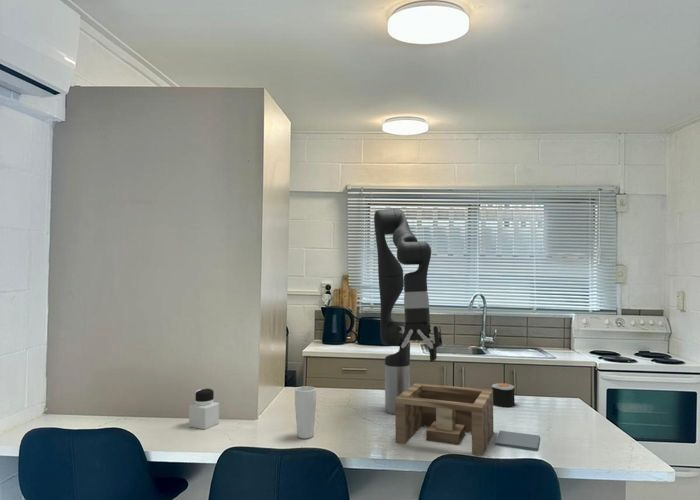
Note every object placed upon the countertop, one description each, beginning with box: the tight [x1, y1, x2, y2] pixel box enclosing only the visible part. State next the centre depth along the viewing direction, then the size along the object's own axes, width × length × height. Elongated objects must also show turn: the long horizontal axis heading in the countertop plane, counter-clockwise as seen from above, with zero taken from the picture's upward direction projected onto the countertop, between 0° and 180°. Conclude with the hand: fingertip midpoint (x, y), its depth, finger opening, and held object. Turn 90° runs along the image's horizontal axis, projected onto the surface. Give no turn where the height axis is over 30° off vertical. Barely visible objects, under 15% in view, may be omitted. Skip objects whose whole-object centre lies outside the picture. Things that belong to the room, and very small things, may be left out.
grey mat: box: [494, 430, 540, 452], centre depth 152 cm, size 12×12×1 cm
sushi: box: [491, 382, 516, 409], centre depth 193 cm, size 8×8×8 cm
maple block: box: [436, 408, 456, 431], centre depth 156 cm, size 5×5×7 cm
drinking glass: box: [294, 385, 317, 440], centre depth 157 cm, size 7×7×15 cm
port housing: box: [394, 382, 494, 457], centre depth 156 cm, size 22×26×14 cm
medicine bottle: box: [188, 388, 220, 430], centre depth 168 cm, size 7×7×12 cm
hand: (419, 361), depth 149 cm, fingers open, 8 cm apart
